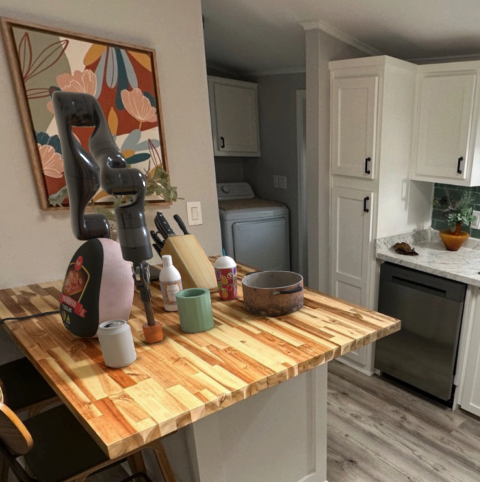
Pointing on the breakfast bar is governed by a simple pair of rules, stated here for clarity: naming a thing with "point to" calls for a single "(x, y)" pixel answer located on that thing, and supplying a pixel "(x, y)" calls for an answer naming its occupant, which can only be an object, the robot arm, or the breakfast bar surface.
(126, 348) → the can
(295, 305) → the cooking pot
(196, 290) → the jar
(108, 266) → the packaged food
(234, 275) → the smoothie
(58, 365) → the breakfast bar surface
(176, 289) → the bath foam
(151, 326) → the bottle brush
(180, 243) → the knife block
